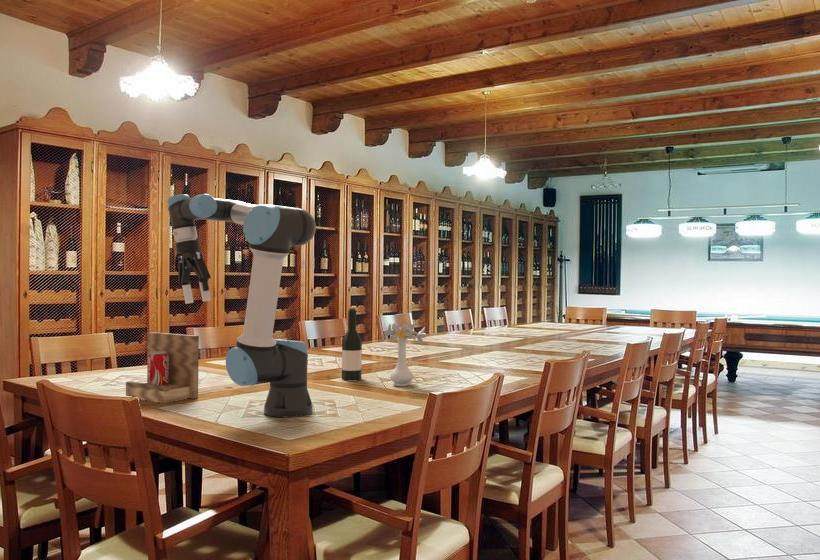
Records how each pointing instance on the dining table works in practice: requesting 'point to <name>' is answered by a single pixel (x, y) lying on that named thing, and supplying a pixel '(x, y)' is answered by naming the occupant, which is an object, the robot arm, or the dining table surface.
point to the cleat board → (171, 369)
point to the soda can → (158, 368)
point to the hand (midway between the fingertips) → (198, 302)
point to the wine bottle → (351, 350)
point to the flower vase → (403, 351)
